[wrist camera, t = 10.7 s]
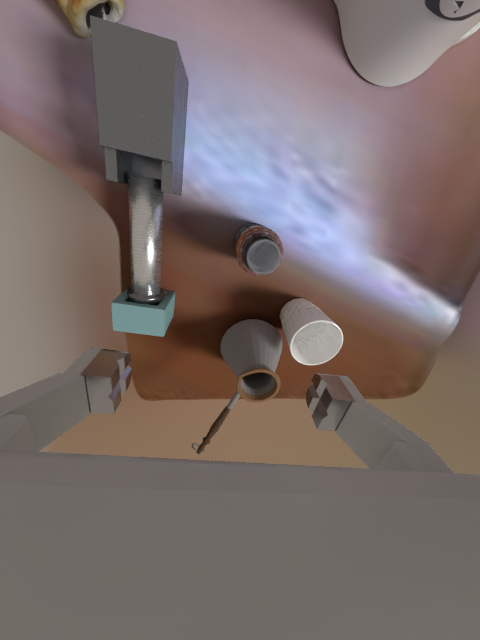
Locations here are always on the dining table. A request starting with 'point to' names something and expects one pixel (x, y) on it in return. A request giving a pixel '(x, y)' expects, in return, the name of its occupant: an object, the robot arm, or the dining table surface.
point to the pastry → (90, 13)
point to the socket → (143, 315)
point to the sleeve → (139, 103)
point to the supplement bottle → (258, 249)
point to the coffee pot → (249, 365)
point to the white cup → (309, 332)
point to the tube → (145, 239)
